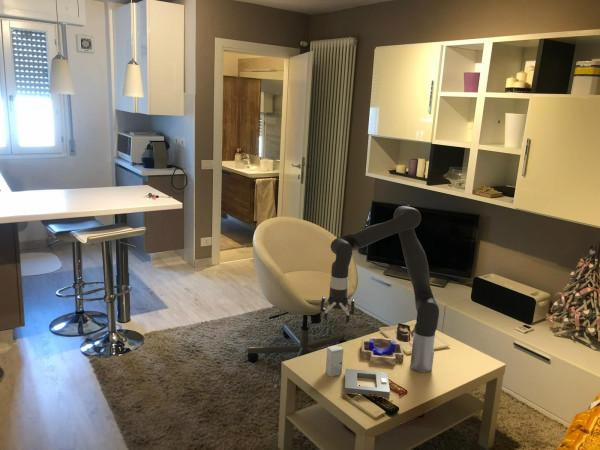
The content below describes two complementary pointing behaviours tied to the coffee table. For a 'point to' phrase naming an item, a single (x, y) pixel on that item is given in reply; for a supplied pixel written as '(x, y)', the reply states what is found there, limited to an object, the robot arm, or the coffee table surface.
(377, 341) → the tray
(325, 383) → the coffee table surface
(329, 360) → the skincare box
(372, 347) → the cable clip
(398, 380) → the coffee table surface
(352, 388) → the socket plate
